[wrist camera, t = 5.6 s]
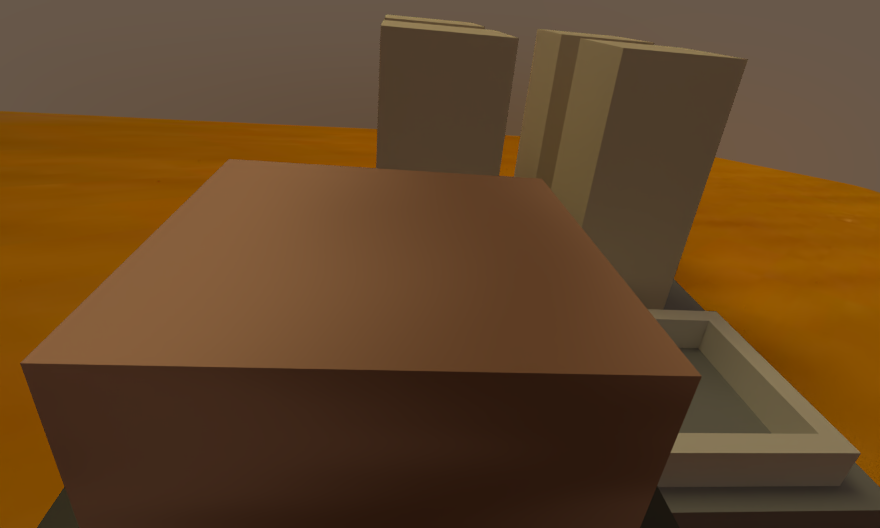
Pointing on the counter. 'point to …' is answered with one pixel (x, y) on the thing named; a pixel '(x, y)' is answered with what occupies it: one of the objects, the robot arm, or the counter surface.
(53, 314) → the counter surface
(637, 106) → the pillar board
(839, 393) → the counter surface
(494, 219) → the terracotta pillar
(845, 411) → the counter surface
